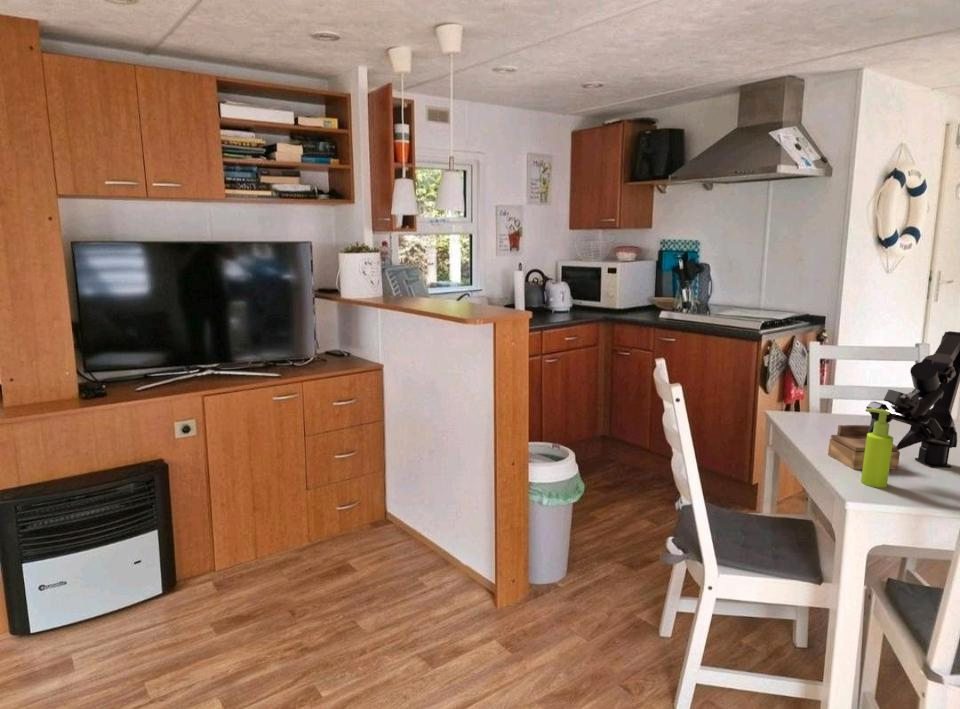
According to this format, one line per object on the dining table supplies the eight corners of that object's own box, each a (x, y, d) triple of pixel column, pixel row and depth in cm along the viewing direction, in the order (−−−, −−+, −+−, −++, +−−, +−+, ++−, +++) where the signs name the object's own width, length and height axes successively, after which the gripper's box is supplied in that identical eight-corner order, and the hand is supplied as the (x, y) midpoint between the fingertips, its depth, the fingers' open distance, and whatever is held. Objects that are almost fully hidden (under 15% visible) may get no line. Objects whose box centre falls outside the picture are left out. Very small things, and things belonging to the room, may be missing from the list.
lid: (871, 437, 191) (873, 424, 190) (899, 450, 180) (900, 437, 179) (831, 438, 190) (832, 425, 190) (855, 450, 179) (857, 437, 178)
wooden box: (869, 454, 192) (871, 438, 191) (897, 468, 181) (900, 452, 180) (827, 454, 192) (829, 438, 191) (853, 469, 180) (855, 452, 179)
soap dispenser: (858, 476, 174) (867, 405, 171) (888, 483, 170) (898, 410, 166) (854, 482, 170) (863, 409, 166) (885, 489, 166) (895, 414, 162)
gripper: (876, 372, 175) (838, 413, 174) (941, 387, 158) (899, 433, 157) (895, 398, 179) (858, 439, 178) (960, 416, 161) (920, 462, 160)
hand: (882, 442), depth 168 cm, fingers open, 9 cm apart
